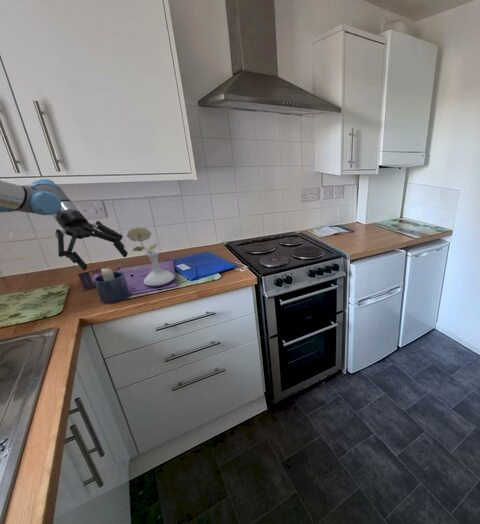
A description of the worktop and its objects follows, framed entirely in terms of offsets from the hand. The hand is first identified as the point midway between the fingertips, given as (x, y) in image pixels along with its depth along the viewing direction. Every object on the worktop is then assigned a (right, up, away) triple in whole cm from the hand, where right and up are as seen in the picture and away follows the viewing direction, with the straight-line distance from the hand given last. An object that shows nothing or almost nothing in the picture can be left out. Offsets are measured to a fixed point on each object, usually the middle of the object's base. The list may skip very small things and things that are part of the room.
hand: (106, 261), depth 110 cm
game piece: (-2, -13, +7) cm, 15 cm away
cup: (-2, -14, +7) cm, 16 cm away
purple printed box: (-18, -10, +17) cm, 27 cm away
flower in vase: (+7, -9, +19) cm, 22 cm away
